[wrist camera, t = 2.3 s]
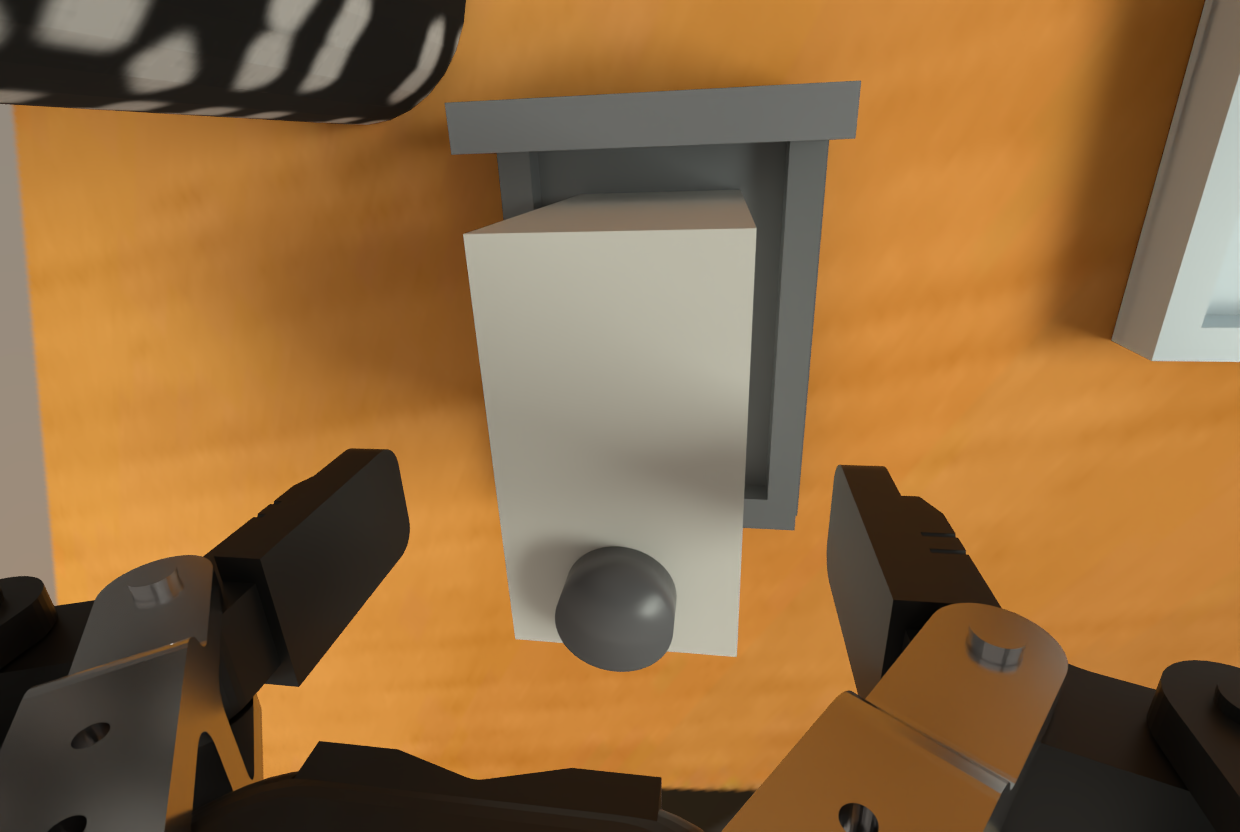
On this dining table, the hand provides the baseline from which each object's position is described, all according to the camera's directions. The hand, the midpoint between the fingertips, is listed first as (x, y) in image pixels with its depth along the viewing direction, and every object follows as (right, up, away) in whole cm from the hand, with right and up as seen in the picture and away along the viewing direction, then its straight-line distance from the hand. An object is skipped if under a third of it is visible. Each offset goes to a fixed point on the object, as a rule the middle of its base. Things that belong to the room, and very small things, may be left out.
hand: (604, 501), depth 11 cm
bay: (+2, +5, +11) cm, 12 cm away
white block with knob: (+2, +4, +10) cm, 11 cm away
